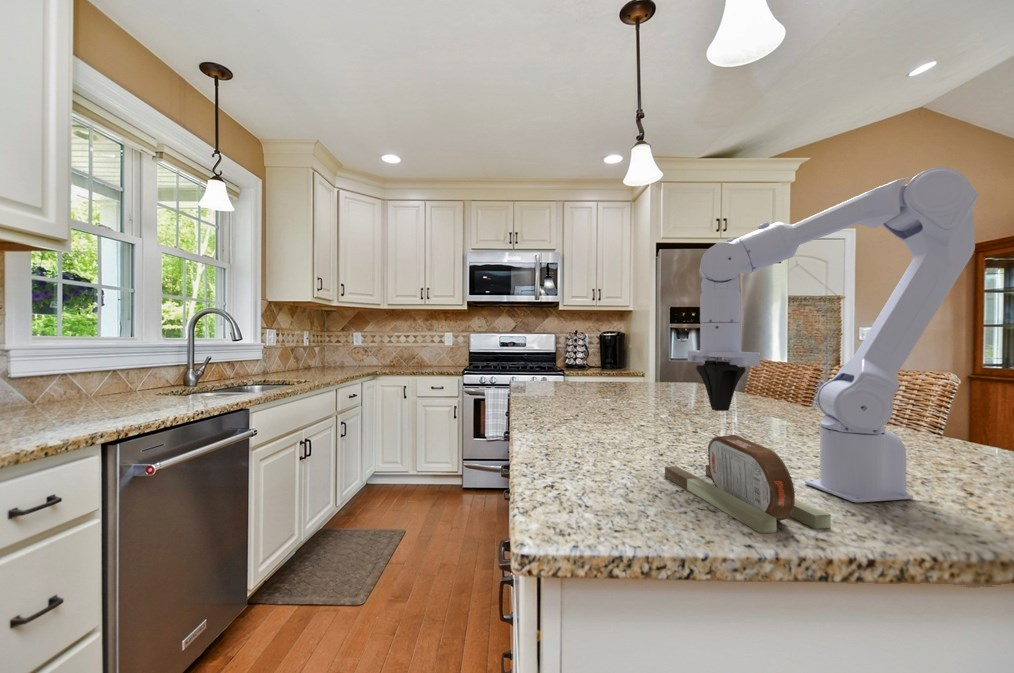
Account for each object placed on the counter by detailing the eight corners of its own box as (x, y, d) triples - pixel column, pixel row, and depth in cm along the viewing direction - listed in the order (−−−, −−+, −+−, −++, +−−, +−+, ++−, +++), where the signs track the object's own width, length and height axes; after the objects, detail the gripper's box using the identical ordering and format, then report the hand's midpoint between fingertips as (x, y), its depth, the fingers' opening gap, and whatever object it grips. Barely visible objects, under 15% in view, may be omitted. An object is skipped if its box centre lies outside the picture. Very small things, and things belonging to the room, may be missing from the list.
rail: (716, 473, 69) (716, 464, 69) (830, 527, 49) (830, 514, 49) (664, 476, 67) (664, 466, 67) (760, 533, 47) (760, 519, 47)
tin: (797, 532, 48) (797, 456, 48) (770, 533, 48) (769, 457, 48) (725, 486, 63) (724, 429, 63) (703, 486, 63) (703, 429, 63)
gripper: (671, 324, 74) (671, 403, 74) (728, 321, 59) (728, 419, 59) (708, 325, 75) (708, 402, 75) (773, 321, 61) (773, 417, 61)
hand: (720, 410), depth 67 cm, fingers closed
